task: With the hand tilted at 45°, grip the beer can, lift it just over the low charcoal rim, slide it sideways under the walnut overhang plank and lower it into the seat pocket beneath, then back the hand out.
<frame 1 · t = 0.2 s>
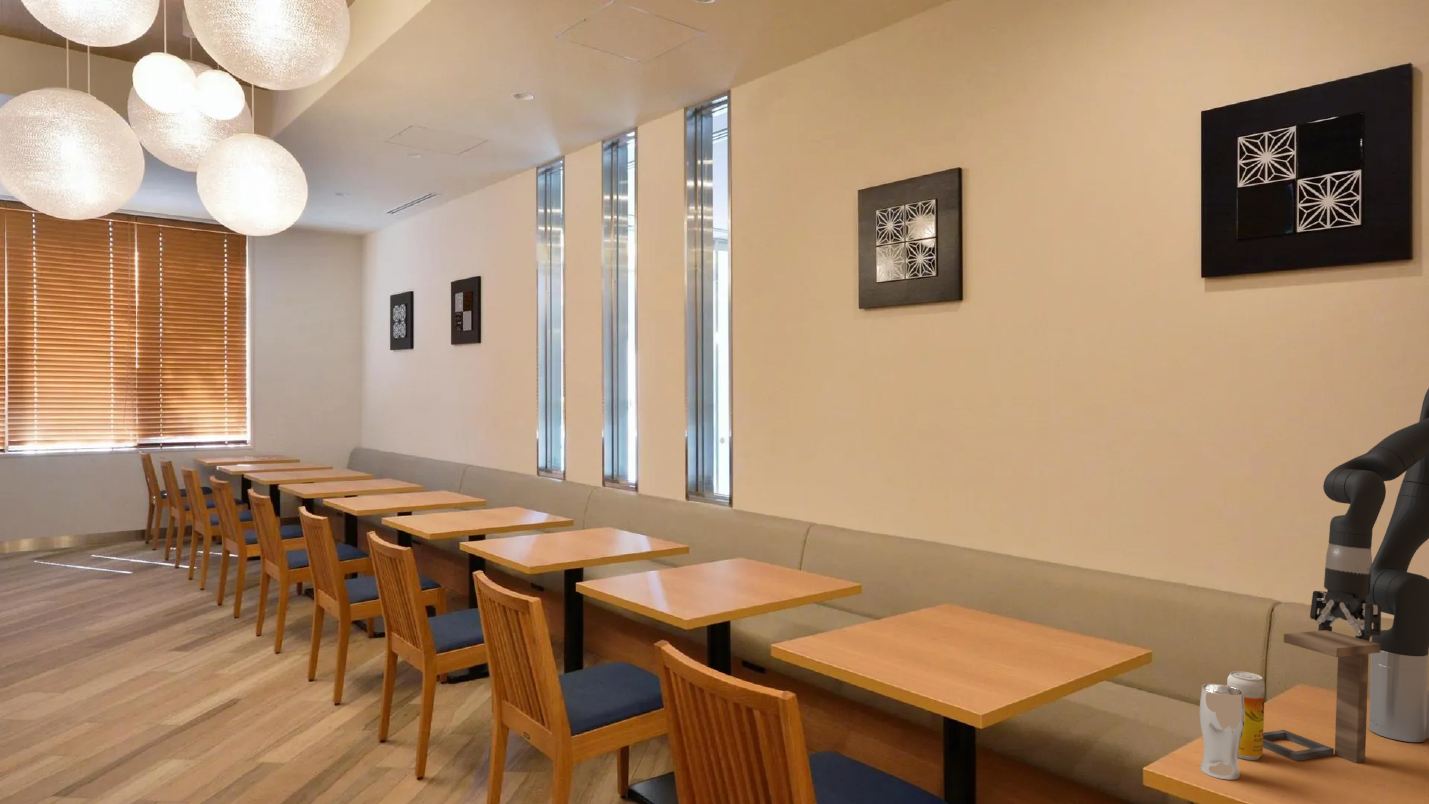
hand: (1342, 649, 178), 18 cm above the table, tool pointing down, fingers open, 8 cm apart
beer can: (1243, 755, 167), on the table
beer glass: (1219, 774, 158), on the table
overhang bracket: (1289, 747, 171), on the table
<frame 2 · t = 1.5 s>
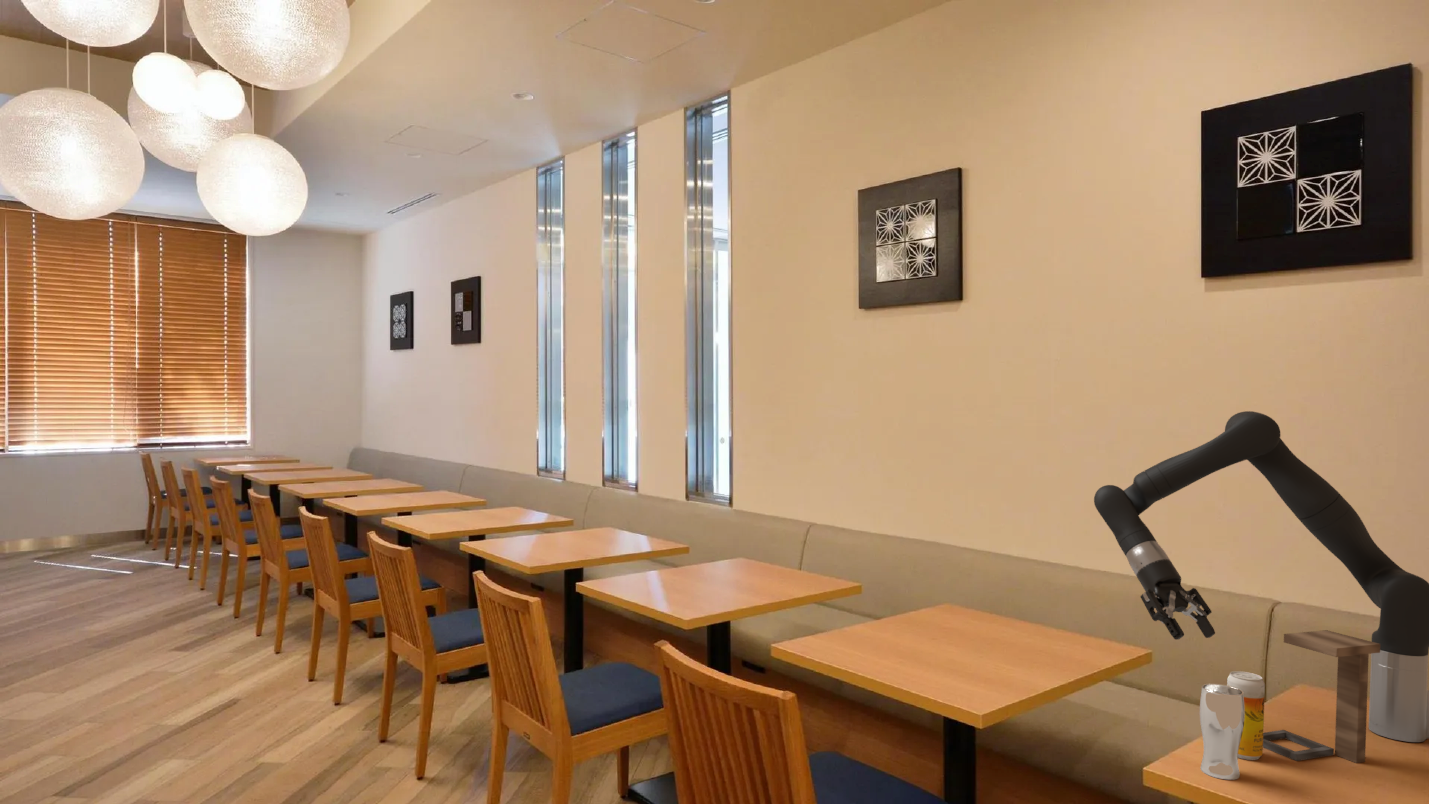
hand: (1195, 636, 178), 19 cm above the table, tool tilted 45°, fingers open, 8 cm apart
nothing on the table moved.
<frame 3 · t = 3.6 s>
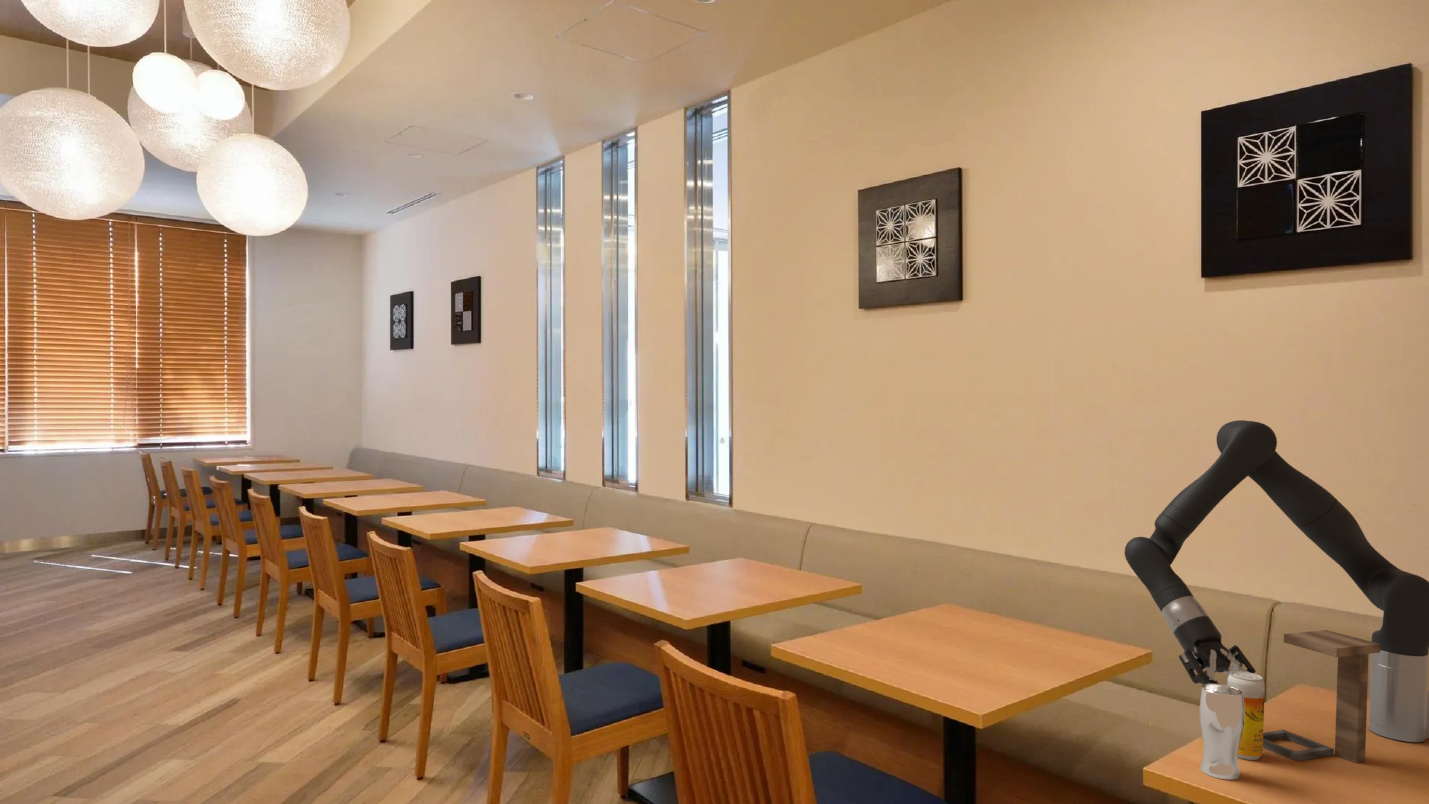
hand: (1239, 699, 168), 10 cm above the table, tool tilted 45°, fingers open, 8 cm apart
nothing on the table moved.
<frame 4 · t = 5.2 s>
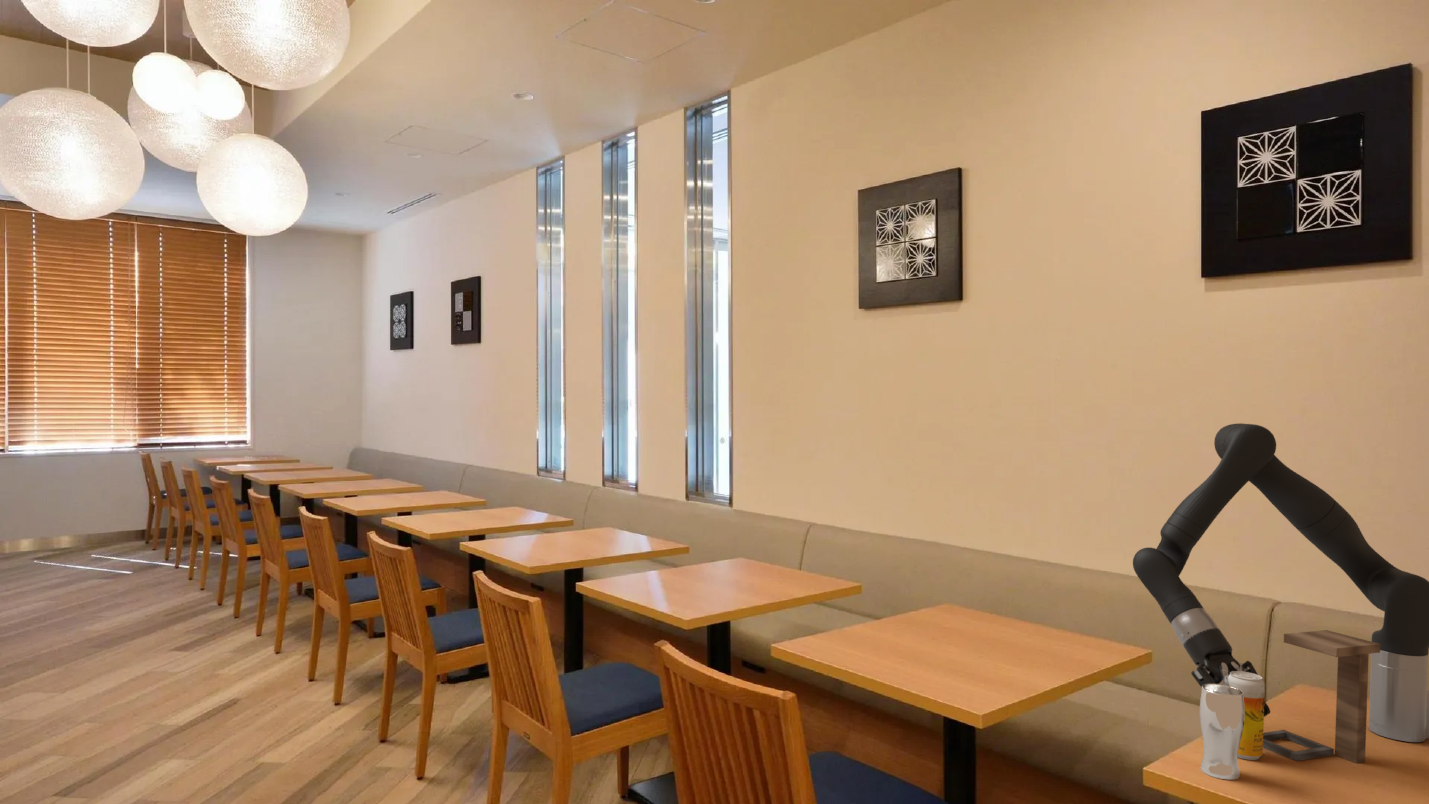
hand: (1253, 716, 166), 8 cm above the table, tool tilted 45°, fingers closed on beer can, 6 cm apart
beer can: (1243, 755, 167), on the table, touching gripper
everything else where it was.
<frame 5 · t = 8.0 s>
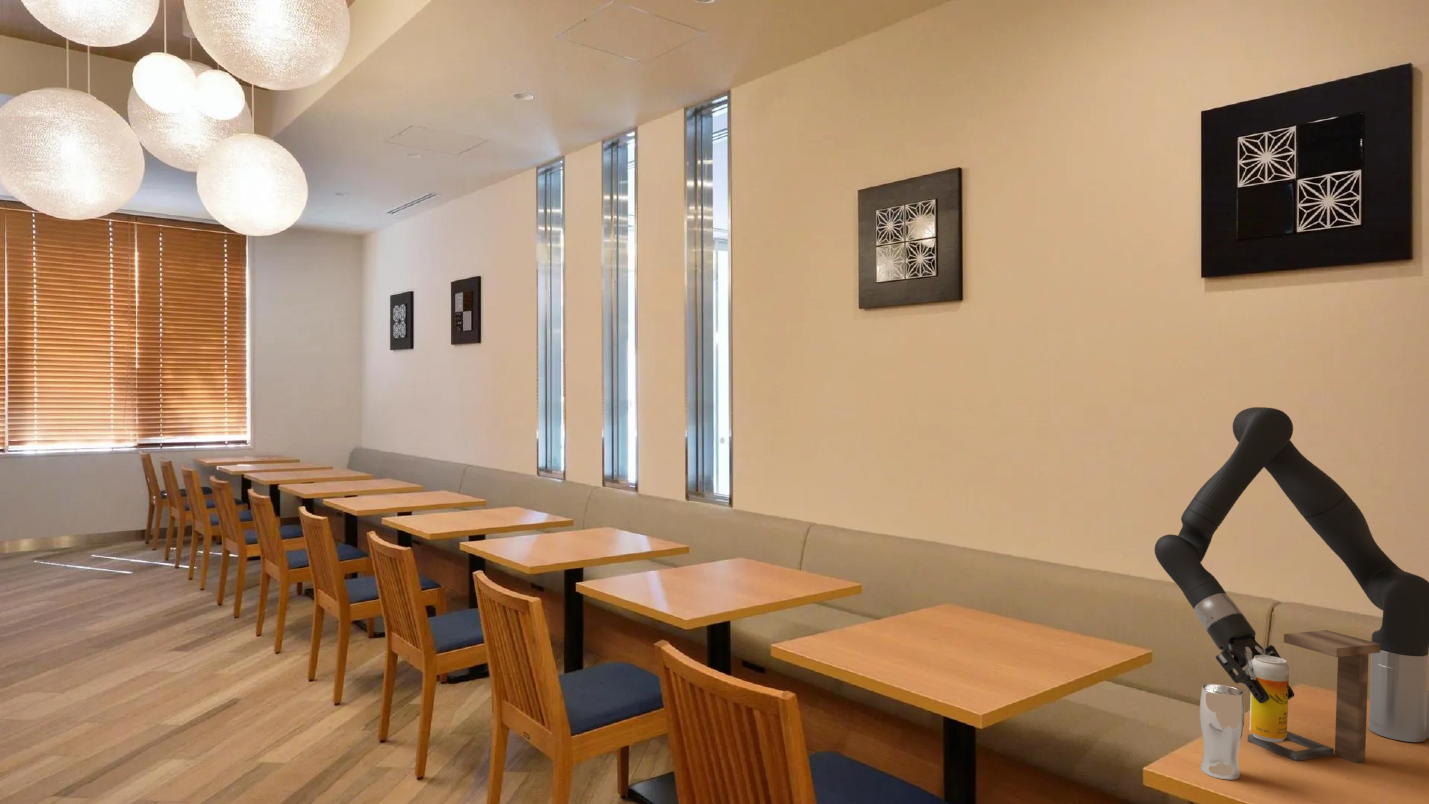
hand: (1277, 699, 168), 10 cm above the table, tool tilted 45°, fingers closed on beer can, 6 cm apart
beer can: (1267, 738, 169), point 2 cm above the table, touching gripper
everything else where it was.
when the fingers open (9 cm above the table, at t = 10.9 s): beer can drops 1 cm, resting in overhang bracket.
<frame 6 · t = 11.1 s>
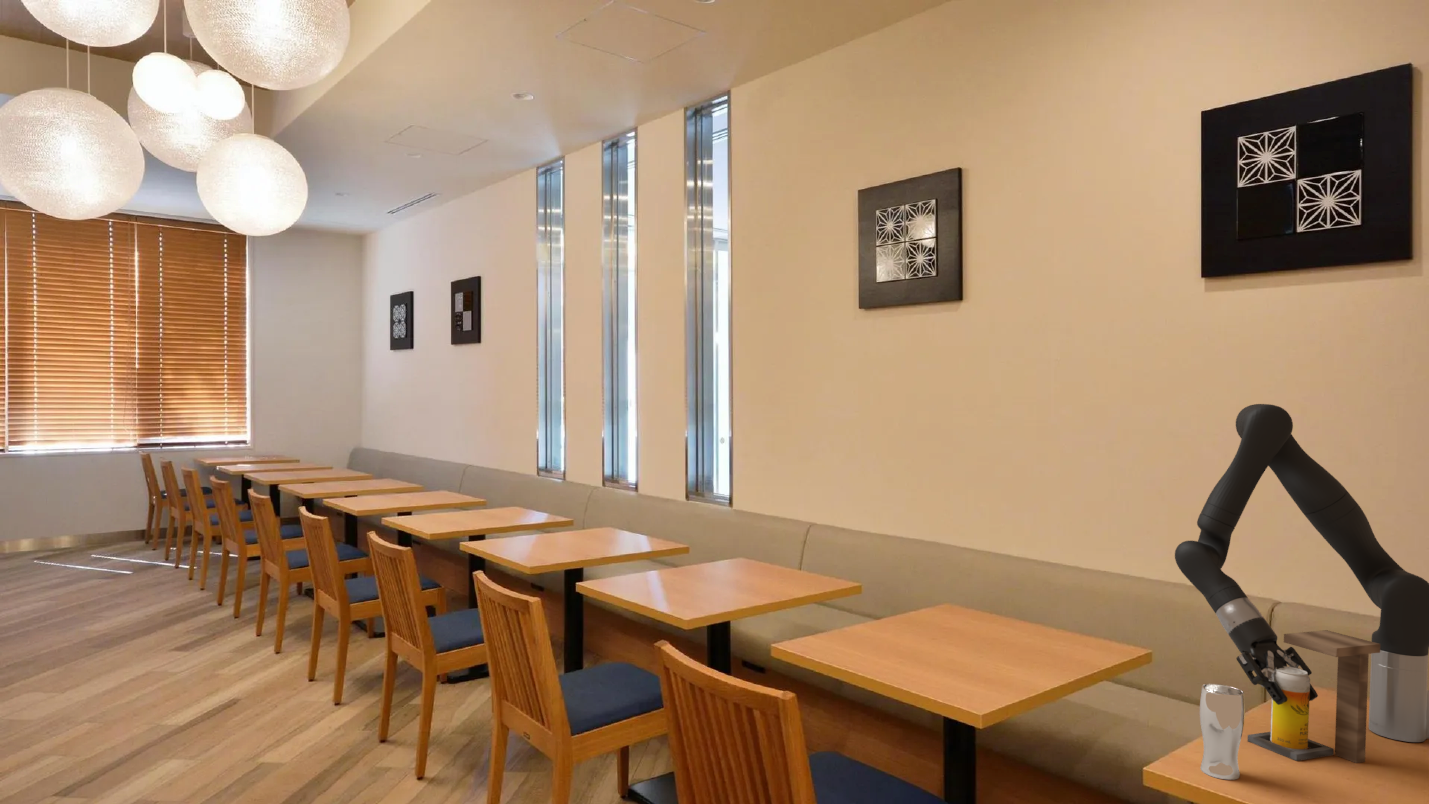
hand: (1298, 700, 170), 10 cm above the table, tool tilted 45°, fingers open, 8 cm apart
beer can: (1288, 748, 172), resting in overhang bracket
everything else where it was.
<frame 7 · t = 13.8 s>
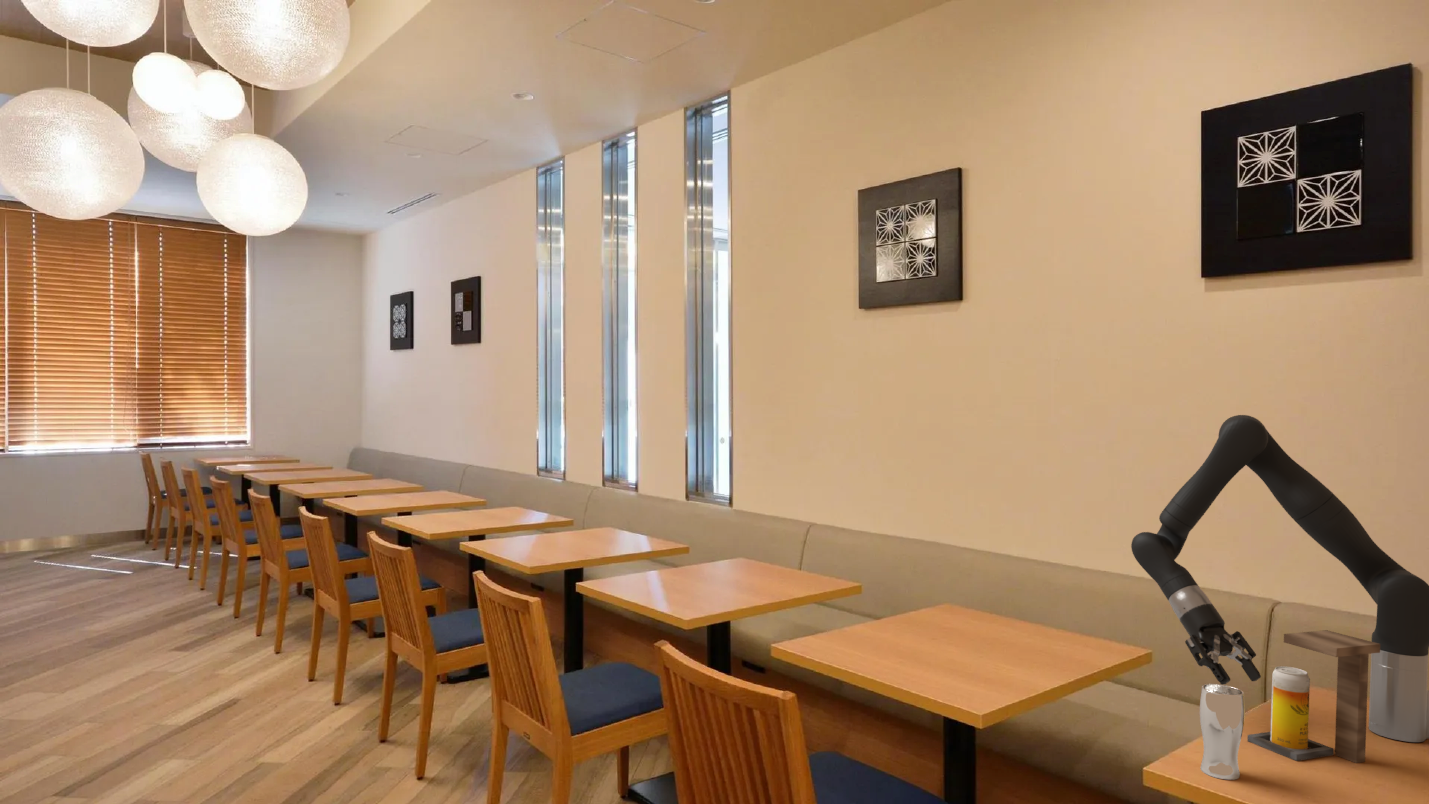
hand: (1241, 681, 181), 10 cm above the table, tool tilted 45°, fingers open, 8 cm apart
nothing on the table moved.
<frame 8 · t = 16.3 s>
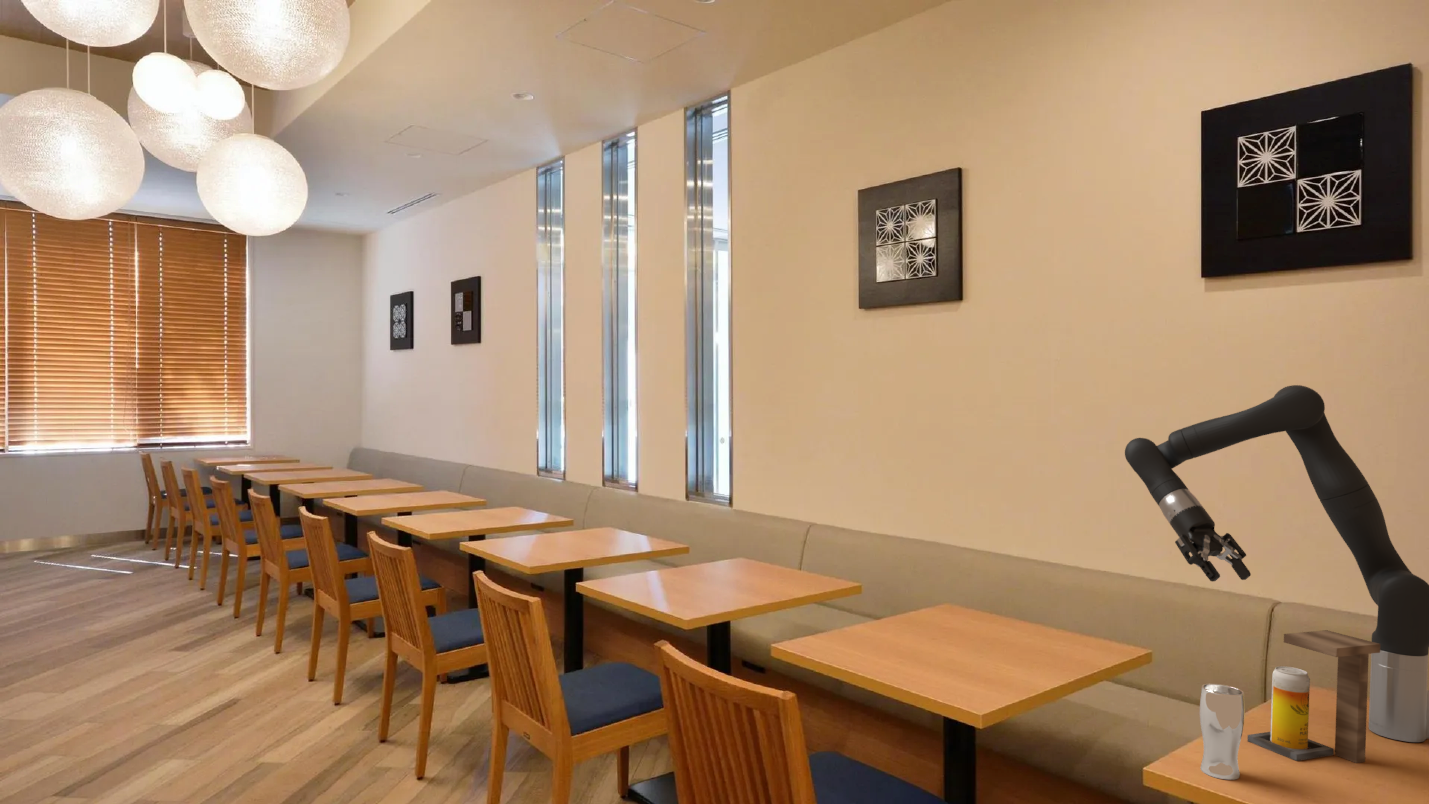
hand: (1231, 578, 181), 31 cm above the table, tool tilted 45°, fingers open, 8 cm apart
nothing on the table moved.
at the end: beer can 0.2 cm off-centre on the overhang bracket, point 0.0 cm above the overhang bracket's base; beer can tilted 0°; the gripper is holding nothing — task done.
